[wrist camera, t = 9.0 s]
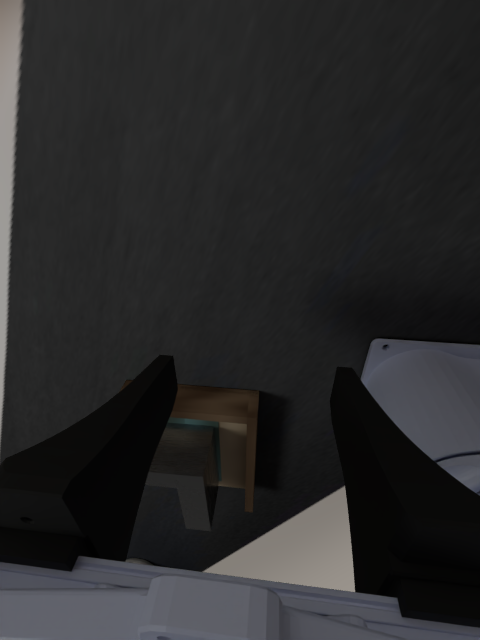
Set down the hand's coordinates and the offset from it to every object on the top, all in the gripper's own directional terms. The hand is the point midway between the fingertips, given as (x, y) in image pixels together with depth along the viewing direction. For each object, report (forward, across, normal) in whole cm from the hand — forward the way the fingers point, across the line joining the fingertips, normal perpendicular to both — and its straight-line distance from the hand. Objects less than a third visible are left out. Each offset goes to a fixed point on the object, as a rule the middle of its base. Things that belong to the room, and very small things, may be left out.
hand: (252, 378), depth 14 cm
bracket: (+9, +7, +19) cm, 22 cm away
